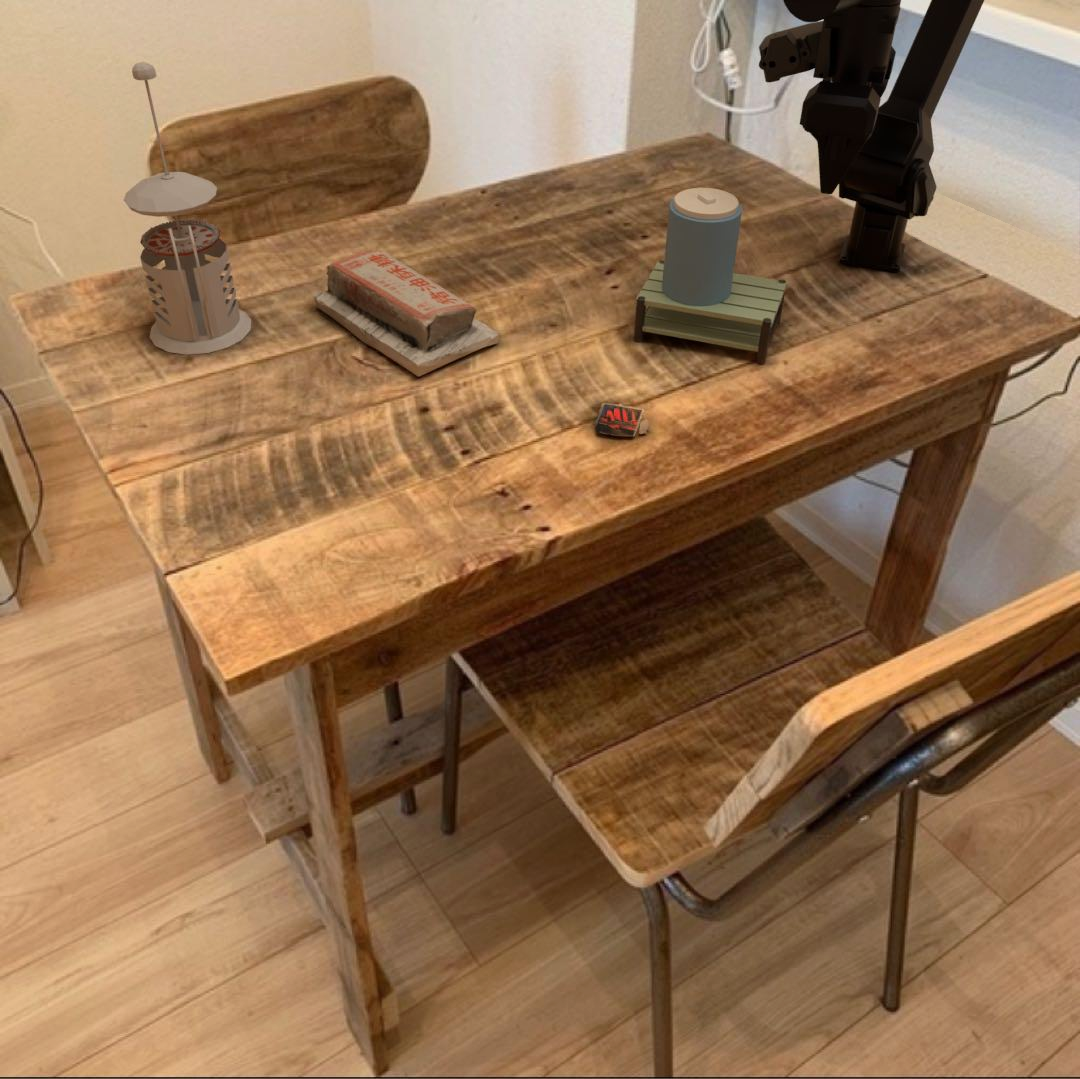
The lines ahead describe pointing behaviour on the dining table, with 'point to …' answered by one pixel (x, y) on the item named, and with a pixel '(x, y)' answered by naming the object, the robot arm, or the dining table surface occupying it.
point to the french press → (185, 260)
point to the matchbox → (620, 420)
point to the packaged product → (401, 312)
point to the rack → (715, 314)
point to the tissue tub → (701, 246)
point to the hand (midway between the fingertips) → (833, 175)
